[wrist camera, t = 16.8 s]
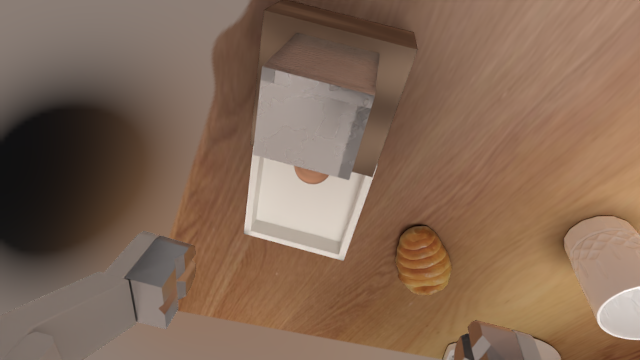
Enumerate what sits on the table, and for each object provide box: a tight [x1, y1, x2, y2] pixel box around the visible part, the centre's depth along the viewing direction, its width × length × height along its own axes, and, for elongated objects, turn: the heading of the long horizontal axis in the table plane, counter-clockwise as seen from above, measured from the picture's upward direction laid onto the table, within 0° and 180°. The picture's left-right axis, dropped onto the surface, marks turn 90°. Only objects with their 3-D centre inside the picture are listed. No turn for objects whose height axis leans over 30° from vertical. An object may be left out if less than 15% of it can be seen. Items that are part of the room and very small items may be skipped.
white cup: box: [564, 216, 640, 340], centre depth 36 cm, size 8×8×10 cm
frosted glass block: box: [253, 33, 380, 180], centre depth 26 cm, size 6×7×9 cm
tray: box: [244, 146, 378, 261], centre depth 42 cm, size 15×13×3 cm
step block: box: [250, 0, 418, 177], centre depth 33 cm, size 12×12×6 cm
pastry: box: [395, 226, 452, 295], centre depth 45 cm, size 9×7×4 cm
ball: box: [294, 166, 329, 184], centre depth 38 cm, size 4×4×4 cm
